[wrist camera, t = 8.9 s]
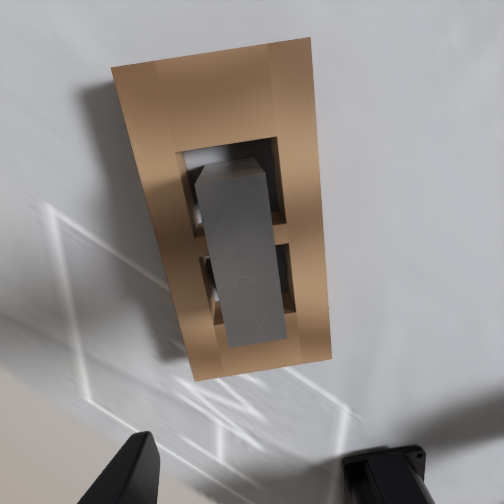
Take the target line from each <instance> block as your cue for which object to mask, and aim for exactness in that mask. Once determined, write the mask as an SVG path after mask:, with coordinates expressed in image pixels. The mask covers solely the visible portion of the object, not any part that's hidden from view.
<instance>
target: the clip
mask: <svg viewBox="0 0 504 504" xmlns="http://www.w3.org/2000/svg"><path fill="white" fill-rule="evenodd" d="M194 185H195V190H196V194H197V199H198V204H199V208H200V213H201V218H202V223H203V227H204V232H205V237H206V241H207V246H208V251H209V255H210V260H211V265H212V269H213V274H214V279H215V283H216V288H217V293H218V297H219V302H220V307H221V311H222V316H223V321H224V325H225V330H226V335H227V339H228V344H229V348H234V347H240V346H246V345H252V344H258V343H264V342H270V341H276V340H282V339H287V332H286V324H285V317H284V309H283V302H282V294H281V287H280V279H279V271H278V264H277V256H276V249H275V241H274V233H273V226H272V218H271V211H270V203H269V195H268V188H267V180H266V173H265V172H264V170H263V169H262V168H261V167H260V165H259V164H258V163H257V162H256V160H255V159H254V158H253V157H251V158H245V159H239V160H233V161H227V162H221V163H214V164H208V165H205V167H204V168H203V170H202V172H201V174H200V176H199V177H198V179H197V181H196V183H195V184H194Z"/></svg>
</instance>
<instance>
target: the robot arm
mask: <svg viewBox="0 0 504 504" xmlns="http://www.w3.org/2000/svg"><path fill="white" fill-rule="evenodd" d="M425 460H426V453H425V451H424V450H423V448H422V447H420V446H416V447H410V448H404V449H398V450H392V451H386V452H380V453H374V454H368V455H362V456H357V457H351V458H346V459H344V460H343V461H342V462H341V469H342V485H343V501H344V504H435V502H434V500H433V499H432V497H431V495H430V493H429V491H428V489H427V488H426V486H425V484H424V473H425ZM159 473H160V455H159V452H158V449H157V446H156V444H155V441H154V438H153V435H152V433H151V432H150V431H144V432H138V433H134V434H132V435H131V436H130V437H129V439H128V440H127V441H126V442H125V444H124V445H123V446H122V447H121V449H120V450H119V451H118V452H117V454H116V455H115V456H114V458H113V459H112V460H111V461H110V463H109V464H108V465H107V466H106V468H105V469H104V470H103V471H102V473H101V474H100V475H99V476H98V478H97V479H96V480H95V481H94V483H93V484H92V485H91V487H90V488H89V489H88V490H87V492H86V493H85V494H84V495H83V497H82V498H81V499H80V501H79V502H78V503H77V504H157V496H158V484H159Z"/></svg>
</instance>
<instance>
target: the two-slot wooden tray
mask: <svg viewBox="0 0 504 504" xmlns="http://www.w3.org/2000/svg"><path fill="white" fill-rule="evenodd" d="M111 71H112V75H113V78H114V82H115V86H116V90H117V93H118V97H119V101H120V105H121V108H122V112H123V116H124V119H125V123H126V127H127V131H128V134H129V138H130V142H131V146H132V149H133V153H134V157H135V161H136V164H137V168H138V172H139V175H140V179H141V183H142V187H143V190H144V194H145V198H146V202H147V205H148V209H149V213H150V217H151V220H152V224H153V228H154V232H155V235H156V239H157V243H158V246H159V250H160V254H161V258H162V261H163V265H164V269H165V273H166V276H167V280H168V284H169V288H170V291H171V295H172V299H173V303H174V306H175V310H176V314H177V317H178V321H179V325H180V329H181V332H182V336H183V340H184V344H185V347H186V351H187V355H188V359H189V362H190V366H191V370H192V373H193V377H194V381H201V380H207V379H214V378H220V377H226V376H232V375H238V374H244V373H250V372H256V371H262V370H268V369H274V368H281V367H287V366H293V365H299V364H305V363H311V362H317V361H323V360H329V359H332V352H331V337H330V322H329V307H328V292H327V277H326V262H325V247H324V232H323V217H322V202H321V187H320V172H319V157H318V142H317V127H316V112H315V97H314V82H313V67H312V52H311V37H308V38H301V39H295V40H288V41H281V42H275V43H268V44H262V45H255V46H249V47H242V48H236V49H229V50H223V51H216V52H210V53H203V54H196V55H190V56H183V57H177V58H170V59H164V60H157V61H151V62H144V63H138V64H131V65H125V66H118V67H111ZM269 137H271V145H272V154H273V163H274V171H275V180H276V188H277V197H278V205H279V211H275V212H271V218H272V226H273V233H274V241H275V245H279V244H283V248H284V257H285V265H286V274H287V283H288V290H287V291H281V294H282V302H283V309H284V317H285V324H286V332H287V339H282V340H276V341H270V342H264V343H258V344H252V345H246V346H240V347H234V348H229V344H228V339H227V335H226V330H225V325H224V321H223V316H222V311H221V307H220V302H215V299H214V294H213V290H212V285H211V280H210V276H209V271H208V266H207V262H206V257H205V256H210V255H209V251H208V246H207V241H206V237H205V232H204V227H203V223H200V224H198V219H197V215H196V210H195V205H194V201H193V196H192V191H191V187H190V182H189V177H188V172H187V168H186V163H185V158H184V154H183V151H186V150H192V149H199V148H205V147H212V146H218V145H225V144H231V143H237V142H244V141H250V140H257V139H263V138H269Z"/></svg>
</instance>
